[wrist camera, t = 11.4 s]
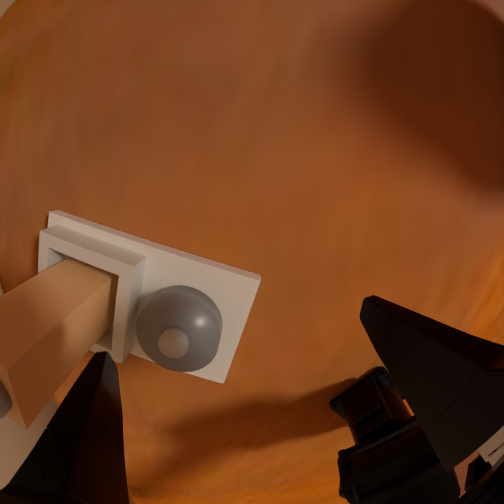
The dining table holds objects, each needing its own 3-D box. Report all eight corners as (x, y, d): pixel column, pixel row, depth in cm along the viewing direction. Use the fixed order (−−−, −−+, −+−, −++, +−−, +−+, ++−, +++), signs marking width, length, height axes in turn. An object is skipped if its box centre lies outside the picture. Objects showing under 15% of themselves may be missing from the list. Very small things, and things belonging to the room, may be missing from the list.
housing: (260, 275, 21) (261, 301, 17) (224, 375, 24) (219, 411, 19) (57, 209, 20) (22, 219, 16) (51, 309, 23) (24, 331, 18)
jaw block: (119, 272, 20) (-3, 380, 7) (114, 321, 21) (20, 438, 8) (73, 254, 20) (-56, 332, 7) (71, 302, 21) (-33, 395, 8)
